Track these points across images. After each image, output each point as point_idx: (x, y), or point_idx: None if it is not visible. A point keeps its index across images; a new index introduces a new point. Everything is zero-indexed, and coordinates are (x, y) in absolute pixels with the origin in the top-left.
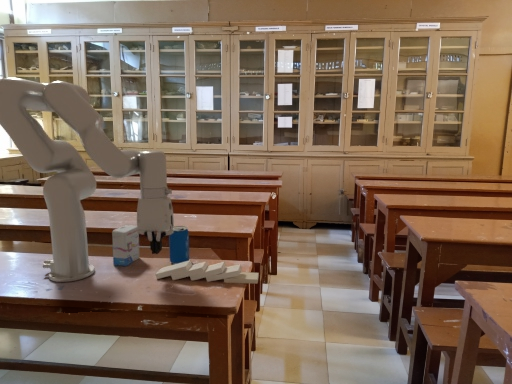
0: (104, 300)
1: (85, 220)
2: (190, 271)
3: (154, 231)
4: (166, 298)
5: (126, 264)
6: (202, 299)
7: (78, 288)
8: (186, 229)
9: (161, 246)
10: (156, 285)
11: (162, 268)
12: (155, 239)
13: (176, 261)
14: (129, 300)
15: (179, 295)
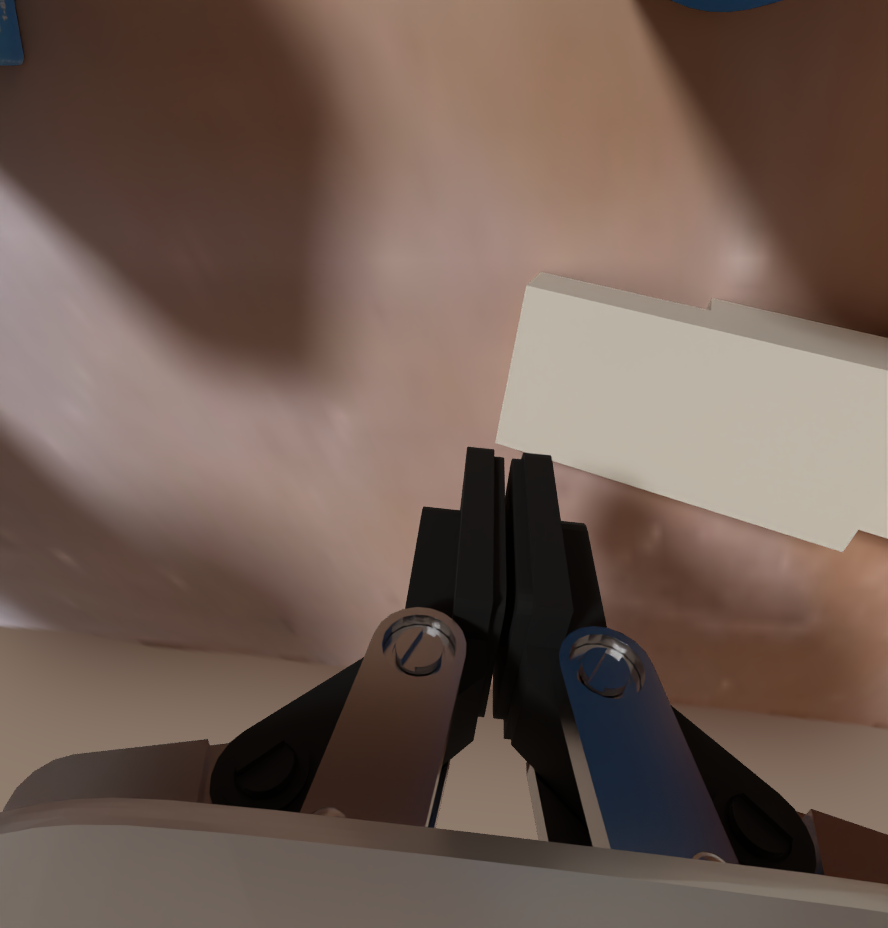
0: (284, 654)
1: None
2: (863, 526)
3: (436, 783)
4: None
5: (9, 53)
6: (842, 677)
7: (24, 537)
8: None
9: (586, 561)
10: None
11: (545, 324)
12: (483, 657)
13: (717, 6)
14: None
15: (703, 636)
